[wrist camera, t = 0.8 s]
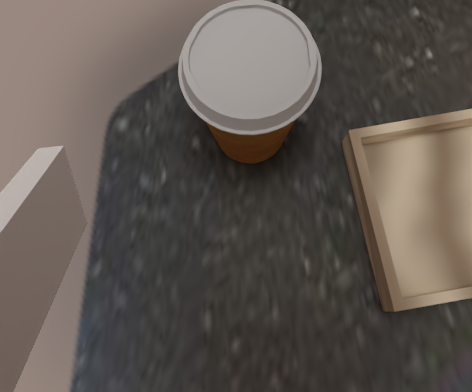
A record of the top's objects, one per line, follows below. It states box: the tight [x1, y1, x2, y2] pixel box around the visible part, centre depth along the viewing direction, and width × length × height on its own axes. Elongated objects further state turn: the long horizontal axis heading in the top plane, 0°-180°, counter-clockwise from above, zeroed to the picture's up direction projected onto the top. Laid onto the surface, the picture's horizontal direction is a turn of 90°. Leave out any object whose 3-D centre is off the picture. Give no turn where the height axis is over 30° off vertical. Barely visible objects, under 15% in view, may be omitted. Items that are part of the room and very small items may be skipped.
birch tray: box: [341, 109, 472, 312], centre depth 36 cm, size 15×15×3 cm
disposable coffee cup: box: [178, 0, 322, 164], centre depth 34 cm, size 10×10×12 cm
